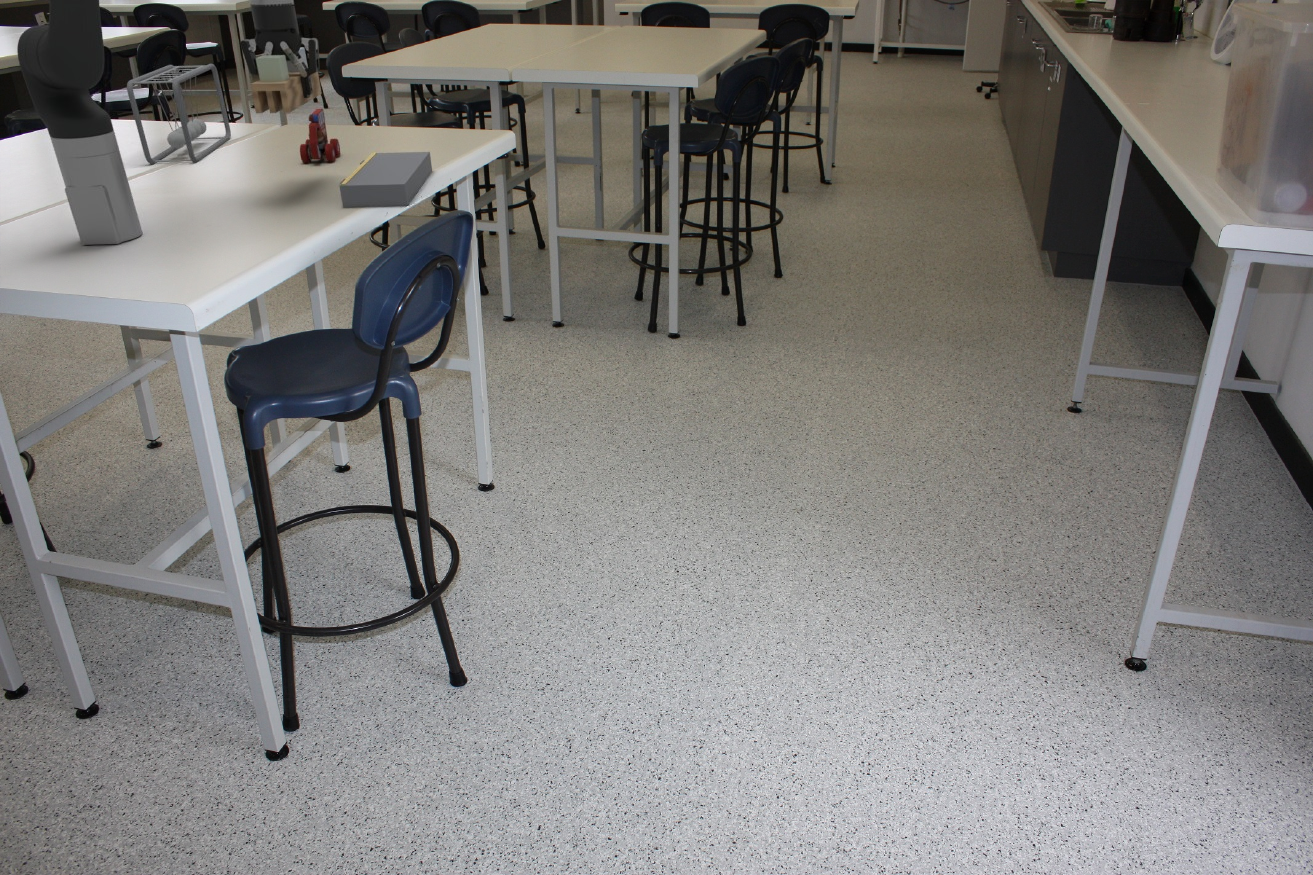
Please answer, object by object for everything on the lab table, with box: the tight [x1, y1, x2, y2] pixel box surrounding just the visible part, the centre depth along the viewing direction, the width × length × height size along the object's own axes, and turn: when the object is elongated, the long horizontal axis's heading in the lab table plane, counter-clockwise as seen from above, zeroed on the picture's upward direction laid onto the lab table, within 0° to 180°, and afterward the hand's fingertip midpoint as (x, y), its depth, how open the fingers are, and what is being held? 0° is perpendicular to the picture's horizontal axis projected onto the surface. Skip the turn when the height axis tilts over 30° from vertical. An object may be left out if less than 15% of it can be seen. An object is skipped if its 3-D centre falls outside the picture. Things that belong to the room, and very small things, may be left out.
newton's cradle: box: [126, 63, 232, 165], centre depth 219 cm, size 30×10×18 cm, turn 7°
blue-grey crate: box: [286, 46, 309, 72], centre depth 183 cm, size 4×4×4 cm
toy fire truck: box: [299, 108, 341, 164], centre depth 210 cm, size 7×12×10 cm, turn 5°
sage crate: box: [256, 55, 289, 82], centre depth 172 cm, size 4×4×4 cm
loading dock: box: [339, 151, 433, 208], centre depth 188 cm, size 28×13×4 cm, turn 2°
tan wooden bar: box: [249, 71, 323, 114], centre depth 179 cm, size 22×6×5 cm, turn 3°
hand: (289, 97), depth 180 cm, fingers closed on tan wooden bar, 6 cm apart
